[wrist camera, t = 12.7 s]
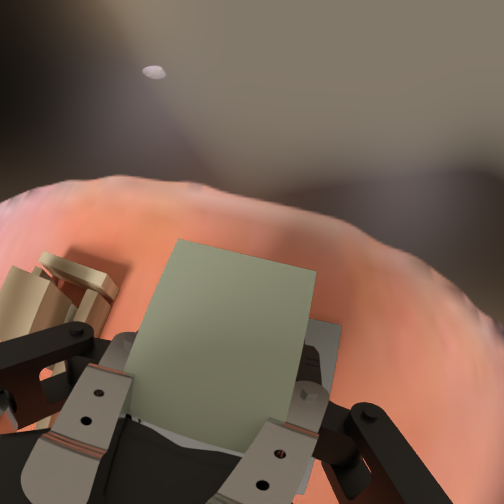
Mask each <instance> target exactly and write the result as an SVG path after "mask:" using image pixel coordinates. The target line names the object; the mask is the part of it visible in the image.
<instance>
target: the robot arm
mask: <svg viewBox="0 0 504 504" xmlns="http://www.w3.org/2000/svg"><path fill="white" fill-rule="evenodd" d="M138 331H139V330H138ZM138 331H137V332H123V333H119V334H117V335H116V336H115V337H114V338H113V340H112V341H110V340H105V339H100V338H95V337H94V329H93V327H92V326H90V325H89V324H87V323H85V322H80V321H72V322H67V323H64V324H61V325H57V326H54V327H51V328H47V329H44V330H41V331H37V332H34V333H31V334H27V335H24V336H20V337H17V338H14V339H10V340H7V341H3V342H0V504H293V503H292V500H293V498H294V496H295V494H296V492H297V489H298V487H299V485H300V483H301V480H302V478H303V476H304V473H305V471H306V468H307V466H308V463H309V461H310V458H311V457H313V458H316V459H318V460H321V464H322V467H323V469H324V471H325V473H326V475H327V478H328V480H329V482H330V484H331V487H332V489H333V491H334V493H335V495H336V498H337V500H338V502H339V504H453V503H452V501H451V500H450V499H449V497H448V496H447V495H446V493H445V492H444V490H443V489H442V488H441V486H440V485H439V484H438V482H437V481H436V480H435V478H434V477H433V475H432V474H431V473H430V471H429V470H428V469H427V467H426V466H425V465H424V463H423V462H422V461H421V459H420V458H419V457H418V455H417V454H416V452H415V451H414V450H413V448H412V447H411V446H410V444H409V443H408V442H407V440H406V439H405V438H404V436H403V435H402V434H401V432H400V431H399V430H398V428H397V427H396V426H395V424H394V423H393V422H392V420H391V419H390V418H389V416H388V415H387V414H386V412H385V411H384V410H383V409H382V408H380V407H379V406H377V405H375V404H372V403H367V402H361V403H357V404H355V405H353V406H352V408H351V410H349V409H346V408H344V407H341V406H338V405H336V404H334V403H333V402H331V401H330V400H329V398H330V397H329V393H328V391H327V390H326V389H325V388H324V387H323V386H322V378H321V368H320V356H319V352H318V351H317V350H316V348H315V347H314V346H310V345H305V339H304V344H303V349H302V353H301V358H300V363H299V367H298V372H297V376H296V381H295V385H294V389H293V394H292V398H291V402H290V406H289V410H288V414H287V418H286V422H283V421H280V420H278V419H275V418H272V417H269V418H268V420H267V421H266V423H265V424H264V426H263V427H262V429H261V430H260V432H259V434H258V435H257V437H256V438H255V440H254V441H253V443H252V444H251V446H250V447H249V449H248V450H247V452H246V453H245V454H244V456H243V457H240V456H236V455H232V454H228V453H224V452H220V451H212V450H202V449H194V448H186V447H182V446H179V445H177V444H176V443H174V442H172V441H171V440H169V439H168V438H166V437H164V436H163V435H161V434H160V433H158V432H157V431H155V430H154V429H152V428H150V427H147V426H145V425H143V422H144V421H143V420H140V419H138V418H136V417H133V416H131V415H129V414H127V411H128V410H129V409H130V405H131V397H132V390H133V383H134V377H135V374H131V373H127V372H123V370H124V368H125V365H126V362H127V359H128V357H129V354H130V351H131V349H132V346H133V344H134V341H135V338H136V336H137V333H138ZM62 361H64V364H65V370H66V371H65V372H62V373H60V374H57V375H55V376H52V377H49V378H47V379H44V380H42V381H40V379H39V374H40V372H41V371H42V370H43V369H44V368H46V367H48V366H51V365H54V364H56V363H59V362H62ZM57 412H60V413H59V415H58V417H57V419H56V421H55V423H54V424H53V426H52V427H51V428H45V429H38V430H31V431H24V432H16V431H17V430H19V429H21V428H24V427H26V426H28V425H31V424H33V423H35V422H38V421H40V420H42V419H44V418H47V417H49V416H51V415H53V414H55V413H57ZM363 458H364V460H365V462H366V463H367V465H368V467H369V469H370V471H371V472H370V471H369V469H368V467H367V466H366V464H365V462H364V460H363Z"/></svg>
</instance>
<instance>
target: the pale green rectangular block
mask: <svg viewBox="0 0 504 504" xmlns="http://www.w3.org/2000/svg"><path fill="white" fill-rule="evenodd" d="M316 273H317V271H313V270H309V269H304V268H300V267H296V266H292V265H287V264H283V263H279V262H275V261H270V260H266V259H262V258H258V257H254V256H249V255H245V254H241V253H237V252H232V251H228V250H224V249H220V248H216V247H211V246H207V245H203V244H199V243H195V242H191V241H186V240H182V239H178V240H177V243H176V245H175V247H174V249H173V251H172V253H171V256H170V258H169V260H168V262H167V264H166V267H165V269H164V271H163V273H162V276H161V278H160V280H159V282H158V285H157V287H156V289H155V292H154V294H153V296H152V299H151V301H150V304H149V306H148V308H147V311H146V313H145V316H144V318H143V321H142V323H141V326H140V328H139V331H138V333H137V336H136V338H135V341H134V344H133V346H132V349H131V351H130V354H129V357H128V359H127V362H126V365H125V368H124V370H123V372H127V373H131V374H135V377H134V383H133V390H132V397H131V405H130V409H129V410H128V411H127V414H129V415H131V416H133V417H136V418H138V419H140V420H143V421H145V422H147V423H150V424H152V425H155V426H157V427H160V428H162V429H165V430H168V431H170V432H173V433H176V434H179V435H182V436H185V437H187V438H190V439H194V440H197V441H200V442H203V443H206V444H210V445H213V446H217V447H220V448H224V449H228V450H231V451H235V452H239V453H244V454H245V453H246V452H247V450H248V449H249V447H250V446H251V444H252V443H253V441H254V440H255V438H256V437H257V435H258V434H259V432H260V430H261V429H262V427H263V426H264V424H265V423H266V421H267V420H268V418H269V417H272V418H275V419H278V420H280V421H283V422H286V418H287V414H288V410H289V406H290V402H291V398H292V394H293V389H294V385H295V381H296V376H297V372H298V367H299V363H300V358H301V353H302V349H303V344H304V339H305V334H306V329H307V324H308V318H309V313H310V308H311V302H312V297H313V291H314V285H315V279H316Z"/></svg>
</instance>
